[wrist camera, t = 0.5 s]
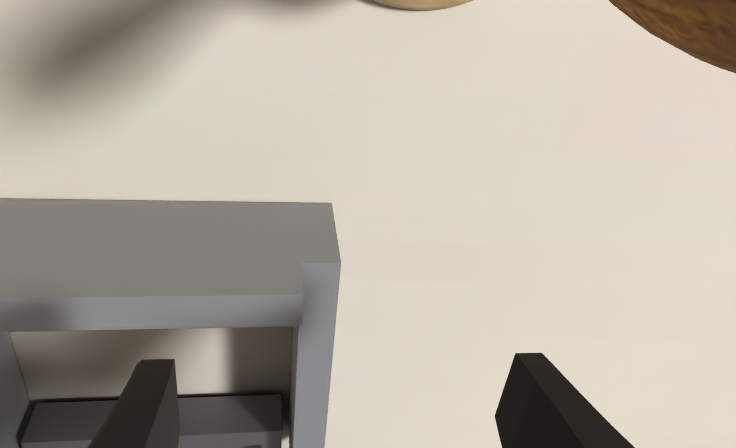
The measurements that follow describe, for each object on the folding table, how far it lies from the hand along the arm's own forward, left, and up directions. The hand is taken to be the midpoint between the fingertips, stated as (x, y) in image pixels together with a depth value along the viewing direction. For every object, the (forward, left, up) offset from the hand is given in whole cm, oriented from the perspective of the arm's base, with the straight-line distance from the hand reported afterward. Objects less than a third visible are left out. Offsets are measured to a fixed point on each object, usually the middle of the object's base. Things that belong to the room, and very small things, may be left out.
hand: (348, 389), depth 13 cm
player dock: (-7, +6, -10) cm, 13 cm away
